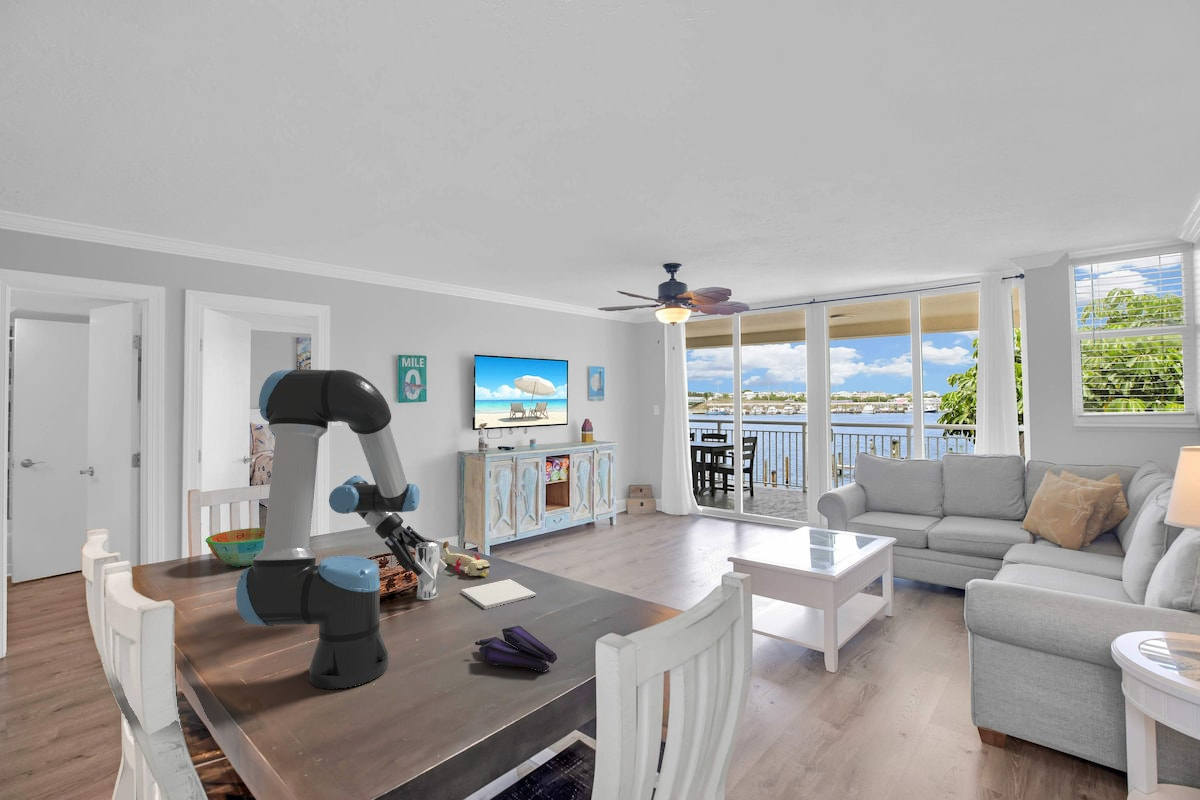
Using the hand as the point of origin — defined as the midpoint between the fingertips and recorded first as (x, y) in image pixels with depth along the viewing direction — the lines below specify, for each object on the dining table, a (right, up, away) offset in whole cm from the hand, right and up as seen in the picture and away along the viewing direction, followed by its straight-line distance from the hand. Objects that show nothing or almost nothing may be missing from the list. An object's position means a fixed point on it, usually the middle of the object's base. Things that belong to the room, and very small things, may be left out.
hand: (437, 575), depth 163 cm
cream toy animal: (+2, -6, +25) cm, 26 cm away
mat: (+17, -6, +2) cm, 18 cm away
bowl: (-75, -6, +31) cm, 81 cm away
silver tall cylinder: (-3, -6, 0) cm, 7 cm away
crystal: (+28, -7, -39) cm, 49 cm away
